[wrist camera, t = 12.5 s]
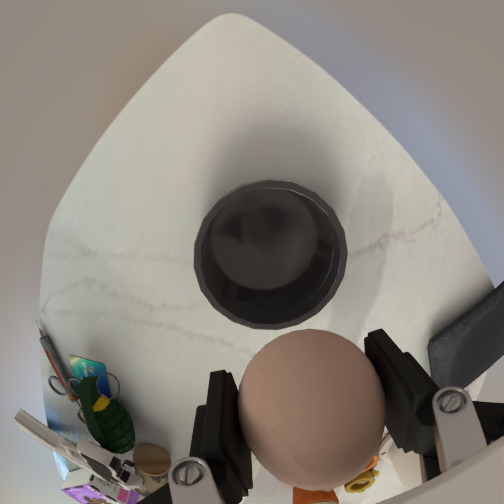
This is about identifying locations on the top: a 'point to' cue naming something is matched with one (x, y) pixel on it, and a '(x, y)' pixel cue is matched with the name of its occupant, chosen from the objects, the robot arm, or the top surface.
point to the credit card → (90, 372)
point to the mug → (150, 467)
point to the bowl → (270, 255)
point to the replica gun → (82, 453)
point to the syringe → (60, 373)
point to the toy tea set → (326, 500)
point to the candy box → (97, 490)
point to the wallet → (469, 343)
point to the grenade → (105, 417)
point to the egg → (312, 409)
